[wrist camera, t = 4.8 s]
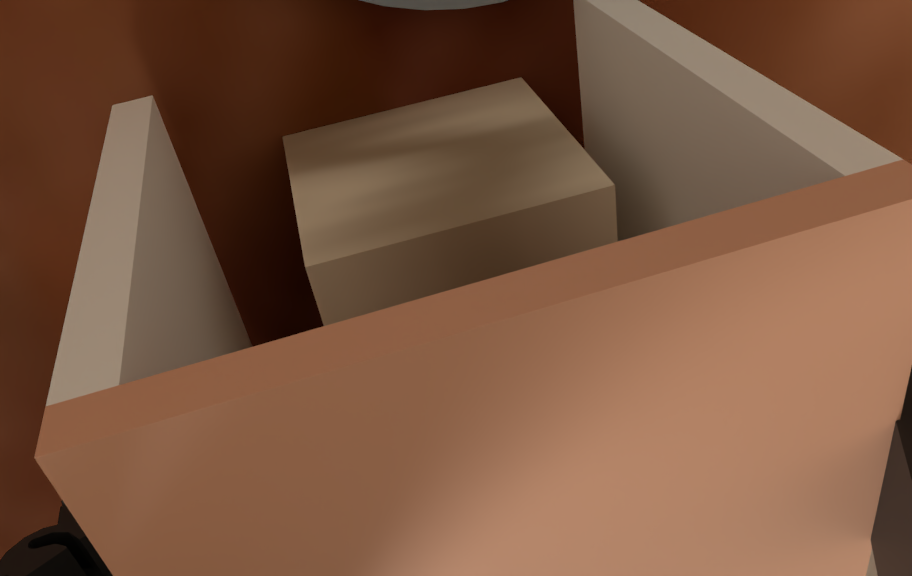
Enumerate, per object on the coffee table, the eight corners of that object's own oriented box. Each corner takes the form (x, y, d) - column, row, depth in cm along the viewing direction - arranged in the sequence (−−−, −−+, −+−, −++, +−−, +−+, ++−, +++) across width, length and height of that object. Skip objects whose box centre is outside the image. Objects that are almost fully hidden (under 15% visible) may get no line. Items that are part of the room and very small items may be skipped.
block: (340, 326, 20) (374, 483, 16) (281, 134, 17) (304, 266, 13) (542, 271, 20) (625, 409, 16) (520, 75, 17) (615, 185, 13)
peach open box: (266, 463, 20) (306, 864, 13) (112, 105, 14) (33, 458, 7) (626, 353, 21) (846, 667, 14) (608, -19, 15) (950, 187, 8)
